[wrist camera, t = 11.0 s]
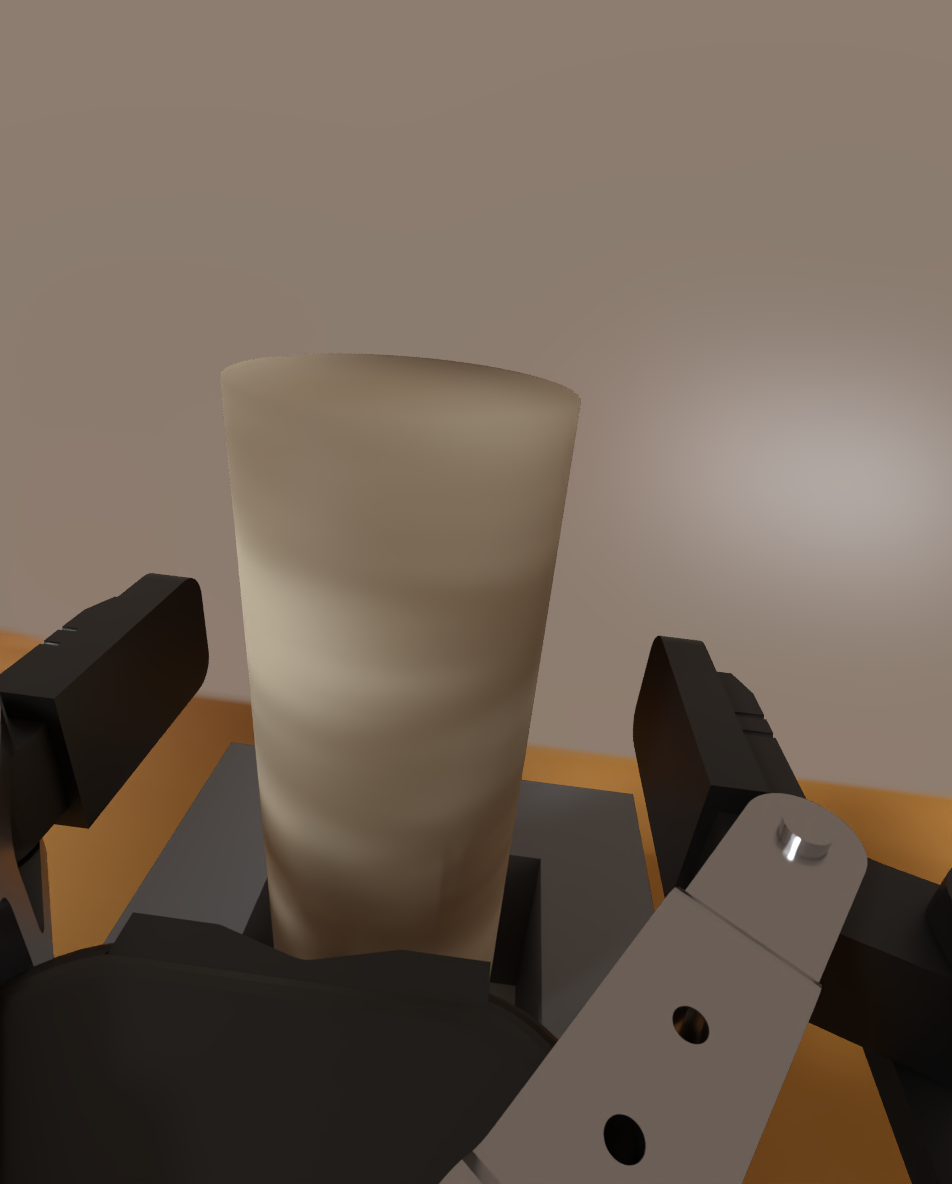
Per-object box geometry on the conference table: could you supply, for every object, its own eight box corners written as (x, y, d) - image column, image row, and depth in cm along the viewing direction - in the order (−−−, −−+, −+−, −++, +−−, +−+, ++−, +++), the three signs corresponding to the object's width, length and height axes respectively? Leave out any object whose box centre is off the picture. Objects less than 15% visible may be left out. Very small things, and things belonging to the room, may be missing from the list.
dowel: (263, 1202, 13) (141, 393, 6) (322, 1001, 17) (294, 344, 9) (458, 1232, 13) (595, 441, 5) (475, 1022, 16) (571, 373, 9)
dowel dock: (-237, 1690, 9) (-506, 1636, 6) (239, 810, 23) (225, 673, 20) (787, 1877, 8) (1003, 1910, 6) (629, 862, 23) (668, 729, 20)
